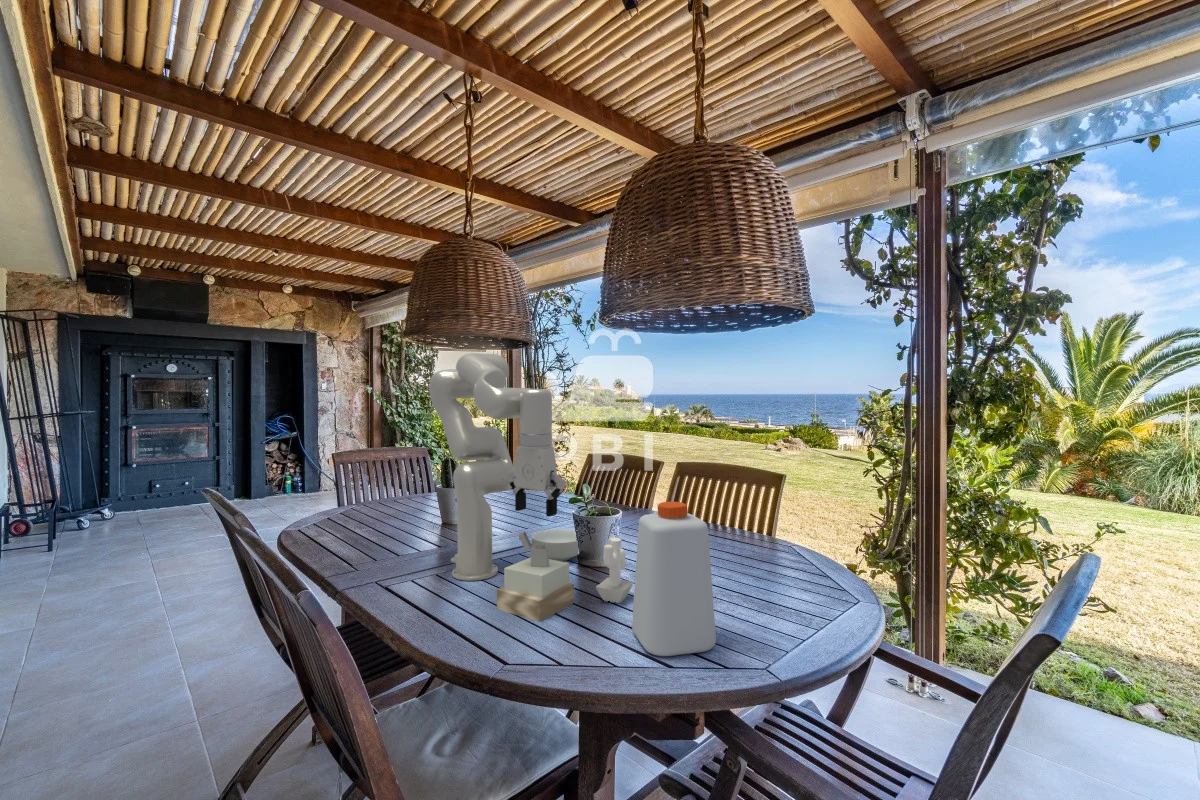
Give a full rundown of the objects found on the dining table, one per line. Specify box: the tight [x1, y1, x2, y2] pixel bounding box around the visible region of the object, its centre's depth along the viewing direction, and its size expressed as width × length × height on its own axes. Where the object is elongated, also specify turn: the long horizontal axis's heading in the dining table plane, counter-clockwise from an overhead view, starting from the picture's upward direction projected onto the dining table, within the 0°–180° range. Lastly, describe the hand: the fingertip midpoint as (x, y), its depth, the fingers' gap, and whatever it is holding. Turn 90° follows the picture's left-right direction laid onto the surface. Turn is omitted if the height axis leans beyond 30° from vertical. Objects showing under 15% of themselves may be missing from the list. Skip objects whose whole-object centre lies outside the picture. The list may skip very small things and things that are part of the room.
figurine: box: [595, 536, 635, 604], centre depth 136 cm, size 7×9×15 cm
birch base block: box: [496, 582, 575, 623], centre depth 132 cm, size 13×13×5 cm
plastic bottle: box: [631, 501, 717, 657], centre depth 114 cm, size 15×15×28 cm
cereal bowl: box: [531, 528, 579, 562], centre depth 170 cm, size 17×17×7 cm
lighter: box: [518, 530, 549, 567], centre depth 132 cm, size 7×2×8 cm, turn 82°
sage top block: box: [503, 556, 570, 598], centre depth 132 cm, size 11×11×5 cm
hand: (535, 512), depth 132 cm, fingers open, 9 cm apart
